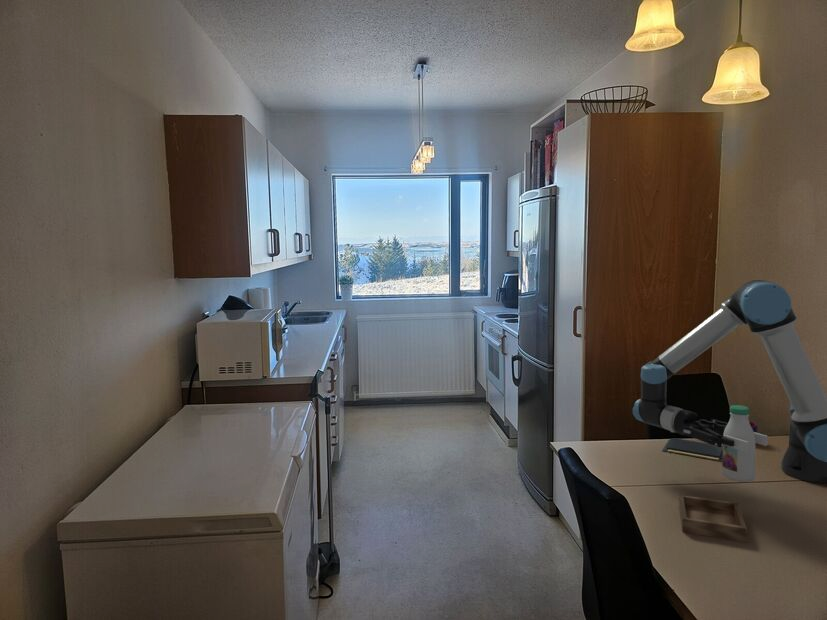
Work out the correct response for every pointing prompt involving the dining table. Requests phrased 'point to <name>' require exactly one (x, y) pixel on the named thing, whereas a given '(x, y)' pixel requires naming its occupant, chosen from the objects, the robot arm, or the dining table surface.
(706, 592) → the dining table surface
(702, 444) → the dark grey flat slab
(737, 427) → the milk bottle
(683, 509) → the walnut tray
